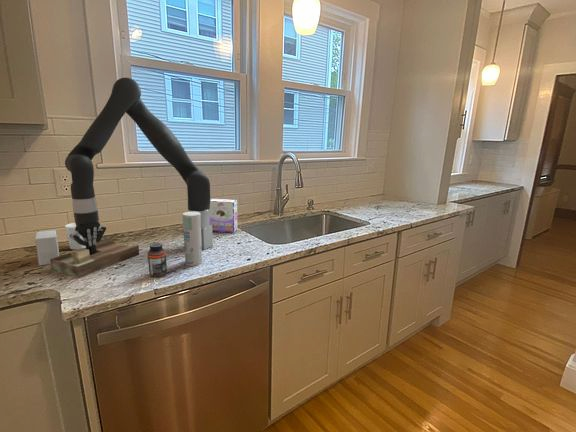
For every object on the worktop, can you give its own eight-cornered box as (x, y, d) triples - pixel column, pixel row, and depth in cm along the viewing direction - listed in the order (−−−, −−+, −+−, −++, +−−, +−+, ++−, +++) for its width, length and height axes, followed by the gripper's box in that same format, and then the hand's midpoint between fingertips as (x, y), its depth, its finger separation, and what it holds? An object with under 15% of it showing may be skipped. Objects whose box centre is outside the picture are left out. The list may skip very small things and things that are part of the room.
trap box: (139, 254, 130) (138, 245, 129) (78, 278, 108) (76, 267, 107) (114, 248, 136) (113, 239, 135) (51, 269, 114) (50, 259, 113)
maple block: (90, 260, 117) (89, 249, 116) (79, 263, 114) (78, 253, 113) (83, 258, 119) (82, 248, 118) (72, 261, 115) (71, 251, 114)
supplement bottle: (152, 270, 116) (150, 241, 113) (169, 270, 116) (167, 241, 113) (146, 278, 110) (144, 247, 107) (164, 277, 110) (162, 247, 108)
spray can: (205, 263, 124) (203, 213, 119) (190, 267, 119) (187, 216, 114) (197, 258, 128) (194, 210, 123) (182, 262, 124) (179, 213, 119)
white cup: (94, 245, 139) (91, 223, 136) (77, 251, 132) (74, 228, 129) (81, 242, 141) (78, 221, 139) (63, 248, 134) (60, 226, 132)
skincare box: (60, 262, 120) (56, 236, 118) (38, 266, 117) (34, 239, 114) (60, 253, 128) (56, 229, 126) (40, 257, 125) (35, 231, 122)
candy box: (237, 230, 167) (237, 199, 163) (234, 233, 162) (233, 201, 158) (213, 228, 170) (212, 197, 165) (208, 231, 164) (207, 200, 160)
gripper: (73, 215, 108) (80, 262, 112) (109, 207, 119) (114, 250, 124) (60, 212, 111) (67, 258, 115) (96, 205, 122) (101, 246, 127)
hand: (92, 254), depth 120 cm, fingers closed
